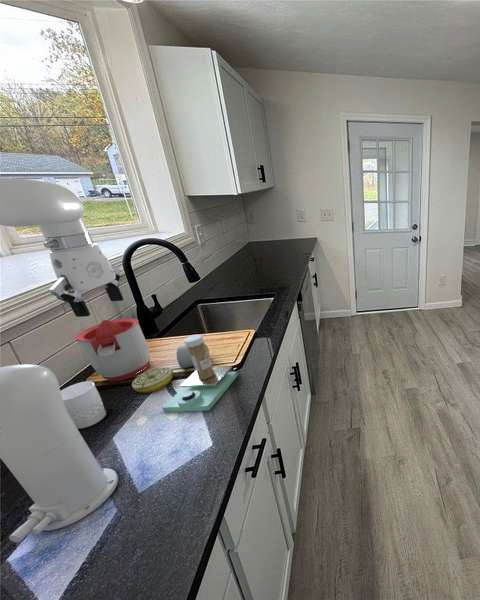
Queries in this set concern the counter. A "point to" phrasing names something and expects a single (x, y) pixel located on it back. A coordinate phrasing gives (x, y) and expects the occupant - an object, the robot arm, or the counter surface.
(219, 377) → the scale pan
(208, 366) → the sprinkles bottle
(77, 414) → the white cup
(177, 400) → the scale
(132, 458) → the counter surface
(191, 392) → the tare button
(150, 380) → the decorated donut
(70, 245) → the robot arm
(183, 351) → the ceramic mug
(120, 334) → the citrus juicer
